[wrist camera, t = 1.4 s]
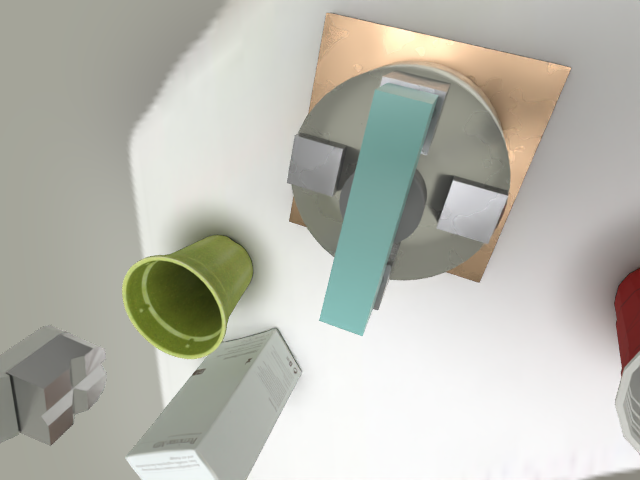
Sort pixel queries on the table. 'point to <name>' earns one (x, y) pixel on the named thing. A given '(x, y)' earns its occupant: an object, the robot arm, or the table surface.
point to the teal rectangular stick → (378, 203)
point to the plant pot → (187, 295)
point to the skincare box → (220, 413)
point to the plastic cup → (629, 357)
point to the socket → (440, 143)
